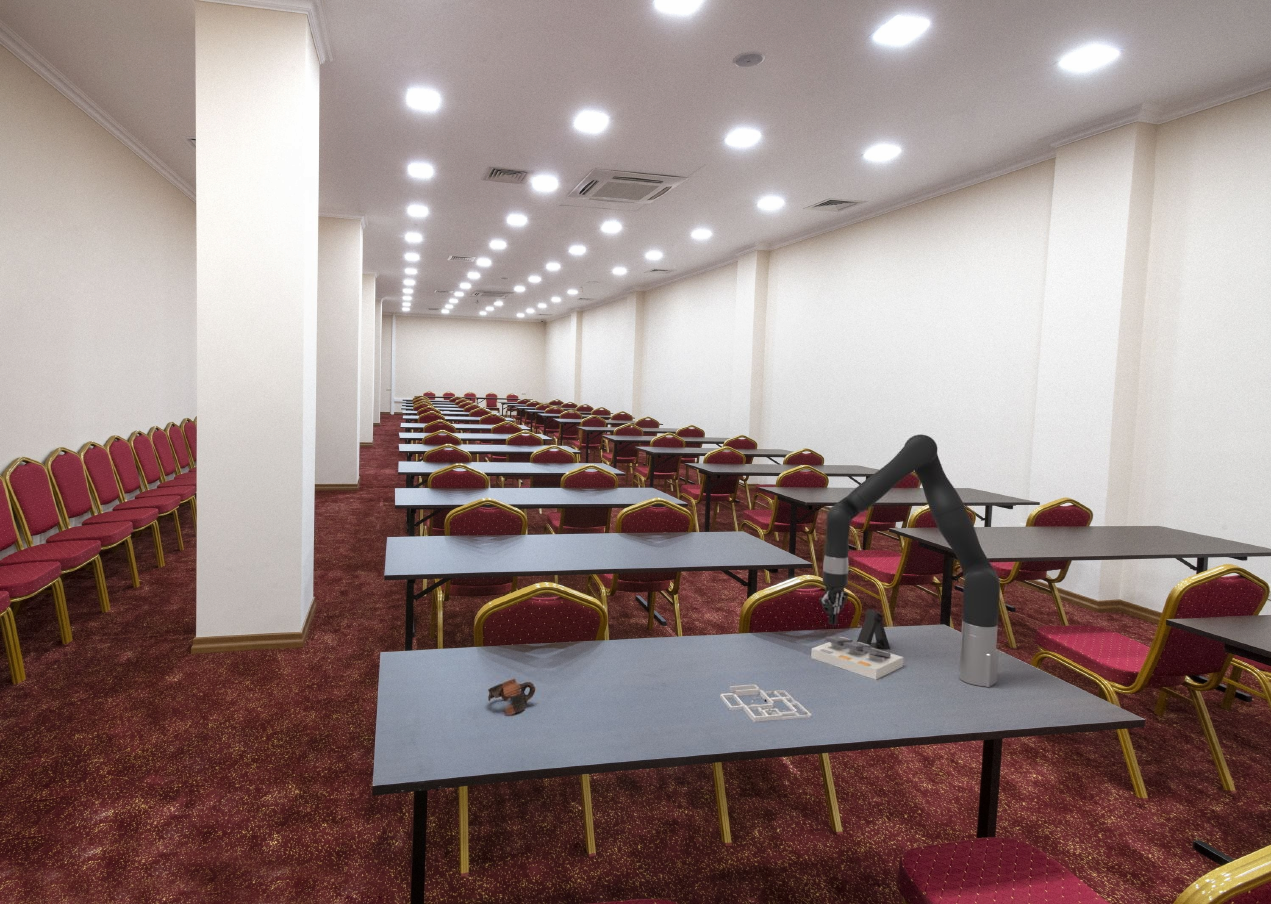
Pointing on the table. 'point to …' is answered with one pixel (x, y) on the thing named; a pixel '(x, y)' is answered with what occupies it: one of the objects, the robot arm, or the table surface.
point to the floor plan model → (766, 715)
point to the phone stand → (874, 631)
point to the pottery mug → (512, 694)
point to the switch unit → (857, 660)
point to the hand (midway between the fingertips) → (832, 624)
